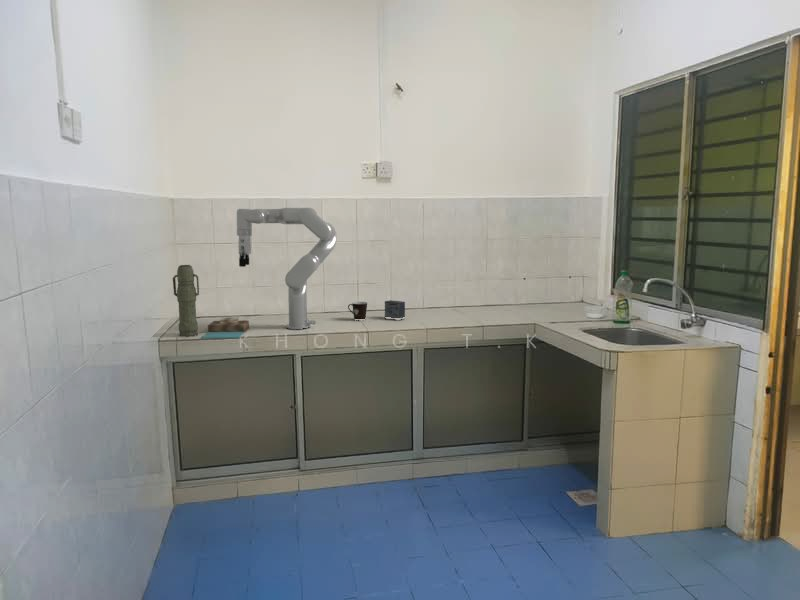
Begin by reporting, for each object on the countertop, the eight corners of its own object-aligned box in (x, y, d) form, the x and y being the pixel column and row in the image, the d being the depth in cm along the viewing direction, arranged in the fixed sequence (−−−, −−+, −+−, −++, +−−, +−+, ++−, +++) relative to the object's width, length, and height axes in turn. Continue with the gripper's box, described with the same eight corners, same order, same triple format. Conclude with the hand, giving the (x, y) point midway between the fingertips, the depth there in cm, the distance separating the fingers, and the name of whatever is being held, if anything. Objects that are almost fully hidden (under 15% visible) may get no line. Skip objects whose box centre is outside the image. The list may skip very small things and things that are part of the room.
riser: (248, 327, 301) (248, 320, 300) (244, 332, 289) (243, 325, 288) (214, 328, 299) (214, 320, 299) (208, 333, 288) (207, 325, 287)
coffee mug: (370, 320, 323) (370, 303, 321) (357, 322, 318) (356, 304, 316) (359, 317, 332) (359, 300, 331) (347, 318, 327) (346, 301, 326)
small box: (405, 319, 327) (405, 301, 326) (399, 321, 322) (399, 302, 320) (390, 317, 333) (390, 299, 331) (384, 319, 327) (384, 301, 326)
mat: (243, 332, 288) (243, 331, 288) (238, 338, 276) (238, 337, 276) (208, 333, 287) (207, 332, 287) (201, 338, 275) (201, 337, 275)
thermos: (176, 333, 285) (172, 264, 280) (201, 332, 289) (197, 264, 283) (175, 337, 277) (171, 266, 271) (200, 336, 281) (197, 265, 275)
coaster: (238, 321, 298) (238, 317, 298) (235, 323, 292) (235, 319, 292) (222, 321, 298) (222, 317, 297) (220, 323, 292) (219, 319, 291)
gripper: (248, 233, 286) (248, 267, 288) (254, 232, 303) (254, 264, 305) (233, 233, 285) (233, 267, 288) (240, 231, 302) (240, 263, 305)
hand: (244, 265), depth 296 cm, fingers open, 9 cm apart
